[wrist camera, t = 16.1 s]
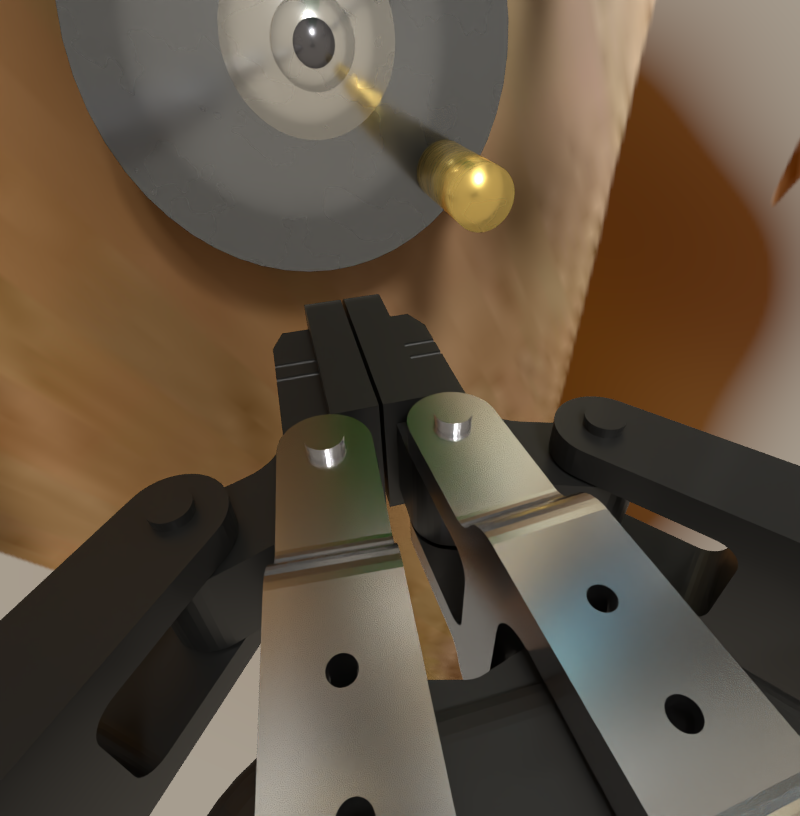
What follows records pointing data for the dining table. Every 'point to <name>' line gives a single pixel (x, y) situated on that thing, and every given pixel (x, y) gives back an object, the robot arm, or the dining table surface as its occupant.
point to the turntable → (289, 156)
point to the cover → (308, 61)
